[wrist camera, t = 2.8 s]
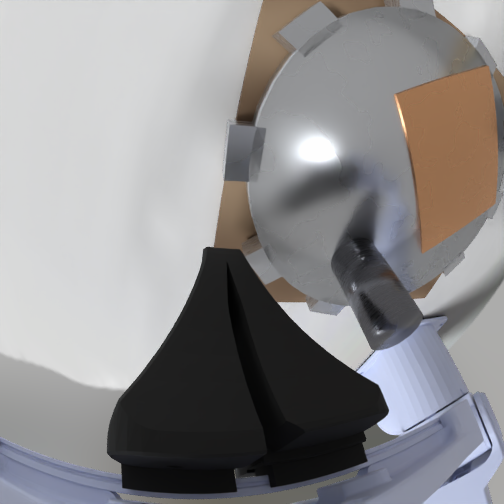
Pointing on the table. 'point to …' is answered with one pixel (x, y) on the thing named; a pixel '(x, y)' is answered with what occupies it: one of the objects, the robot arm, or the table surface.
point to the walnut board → (256, 78)
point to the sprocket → (370, 160)
